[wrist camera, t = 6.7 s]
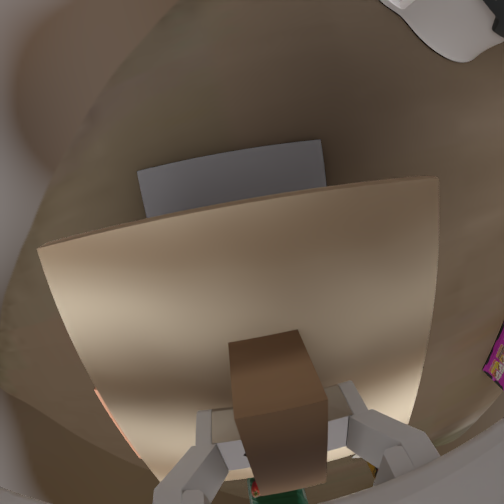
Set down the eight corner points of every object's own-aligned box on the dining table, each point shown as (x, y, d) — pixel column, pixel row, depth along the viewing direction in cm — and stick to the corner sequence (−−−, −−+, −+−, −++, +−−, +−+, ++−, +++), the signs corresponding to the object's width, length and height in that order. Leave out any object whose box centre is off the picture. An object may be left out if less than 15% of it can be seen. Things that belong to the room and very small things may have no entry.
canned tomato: (262, 477, 41) (271, 530, 30) (234, 460, 38) (240, 520, 28) (304, 459, 40) (320, 514, 29) (279, 441, 37) (294, 503, 27)
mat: (138, 170, 25) (136, 171, 24) (318, 139, 26) (320, 139, 25) (179, 330, 30) (179, 333, 29) (333, 300, 31) (335, 303, 30)
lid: (47, 242, 9) (-25, 290, 5) (425, 175, 10) (511, 193, 6) (163, 473, 14) (158, 533, 10) (399, 426, 14) (429, 477, 10)
